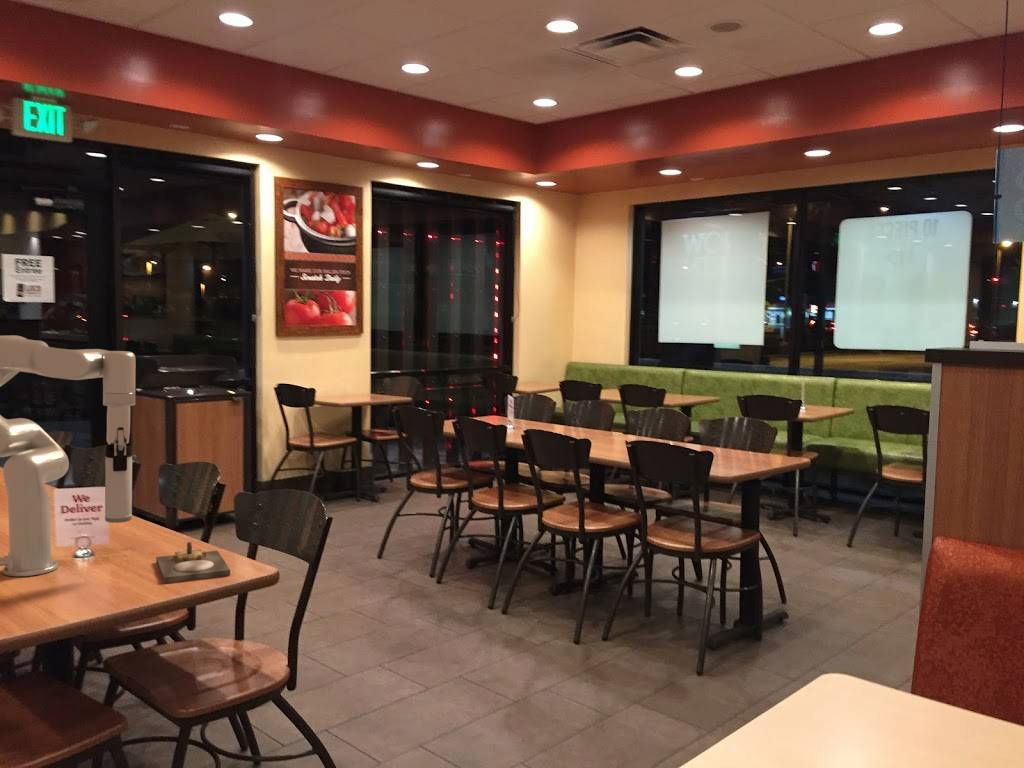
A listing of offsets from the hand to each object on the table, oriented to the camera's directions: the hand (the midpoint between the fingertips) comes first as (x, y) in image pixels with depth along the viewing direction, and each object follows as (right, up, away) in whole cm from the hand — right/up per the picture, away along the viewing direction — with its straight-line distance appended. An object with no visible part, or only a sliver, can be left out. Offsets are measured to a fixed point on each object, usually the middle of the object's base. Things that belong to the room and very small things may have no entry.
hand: (119, 467), depth 217 cm
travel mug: (-1, -14, +1) cm, 14 cm away
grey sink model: (+16, -28, +8) cm, 33 cm away
